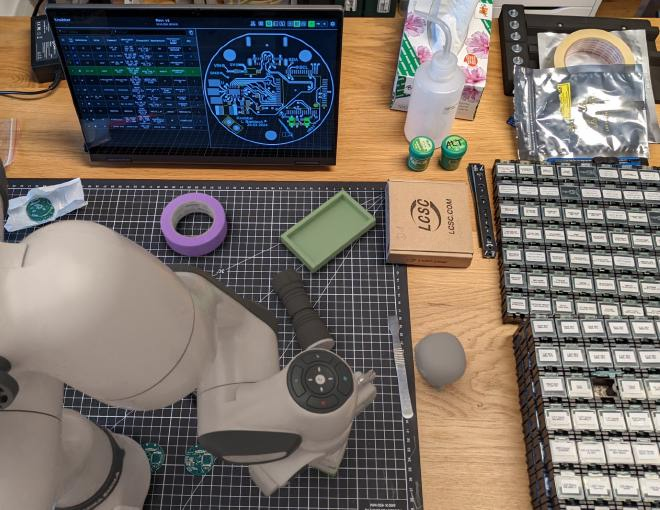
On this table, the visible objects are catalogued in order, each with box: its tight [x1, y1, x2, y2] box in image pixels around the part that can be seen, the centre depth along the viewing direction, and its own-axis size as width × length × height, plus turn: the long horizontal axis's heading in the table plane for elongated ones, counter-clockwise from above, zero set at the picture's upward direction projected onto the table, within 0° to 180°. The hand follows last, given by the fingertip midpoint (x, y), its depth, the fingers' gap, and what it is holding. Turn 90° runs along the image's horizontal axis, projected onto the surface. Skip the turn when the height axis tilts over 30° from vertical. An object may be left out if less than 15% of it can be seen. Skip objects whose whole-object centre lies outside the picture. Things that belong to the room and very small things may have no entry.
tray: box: [280, 189, 377, 274], centre depth 115 cm, size 16×9×2 cm, turn 132°
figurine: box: [413, 331, 467, 394], centre depth 97 cm, size 8×8×12 cm
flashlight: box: [271, 268, 336, 352], centre depth 105 cm, size 15×5×5 cm, turn 25°
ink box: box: [310, 440, 348, 478], centre depth 89 cm, size 9×5×12 cm, turn 66°
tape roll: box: [159, 192, 228, 257], centre depth 114 cm, size 12×12×4 cm
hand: (314, 444), depth 90 cm, fingers closed on ink box, 6 cm apart
